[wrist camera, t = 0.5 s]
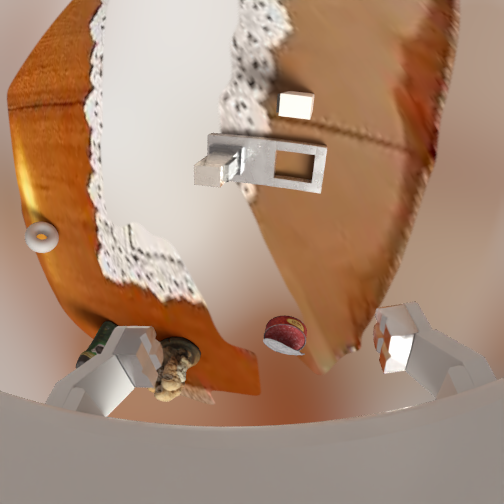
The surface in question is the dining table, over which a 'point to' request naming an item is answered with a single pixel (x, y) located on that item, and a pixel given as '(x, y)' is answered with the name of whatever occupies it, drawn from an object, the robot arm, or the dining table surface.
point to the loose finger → (295, 104)
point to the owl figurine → (174, 367)
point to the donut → (36, 243)
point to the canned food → (285, 335)
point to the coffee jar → (97, 343)
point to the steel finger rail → (255, 162)
